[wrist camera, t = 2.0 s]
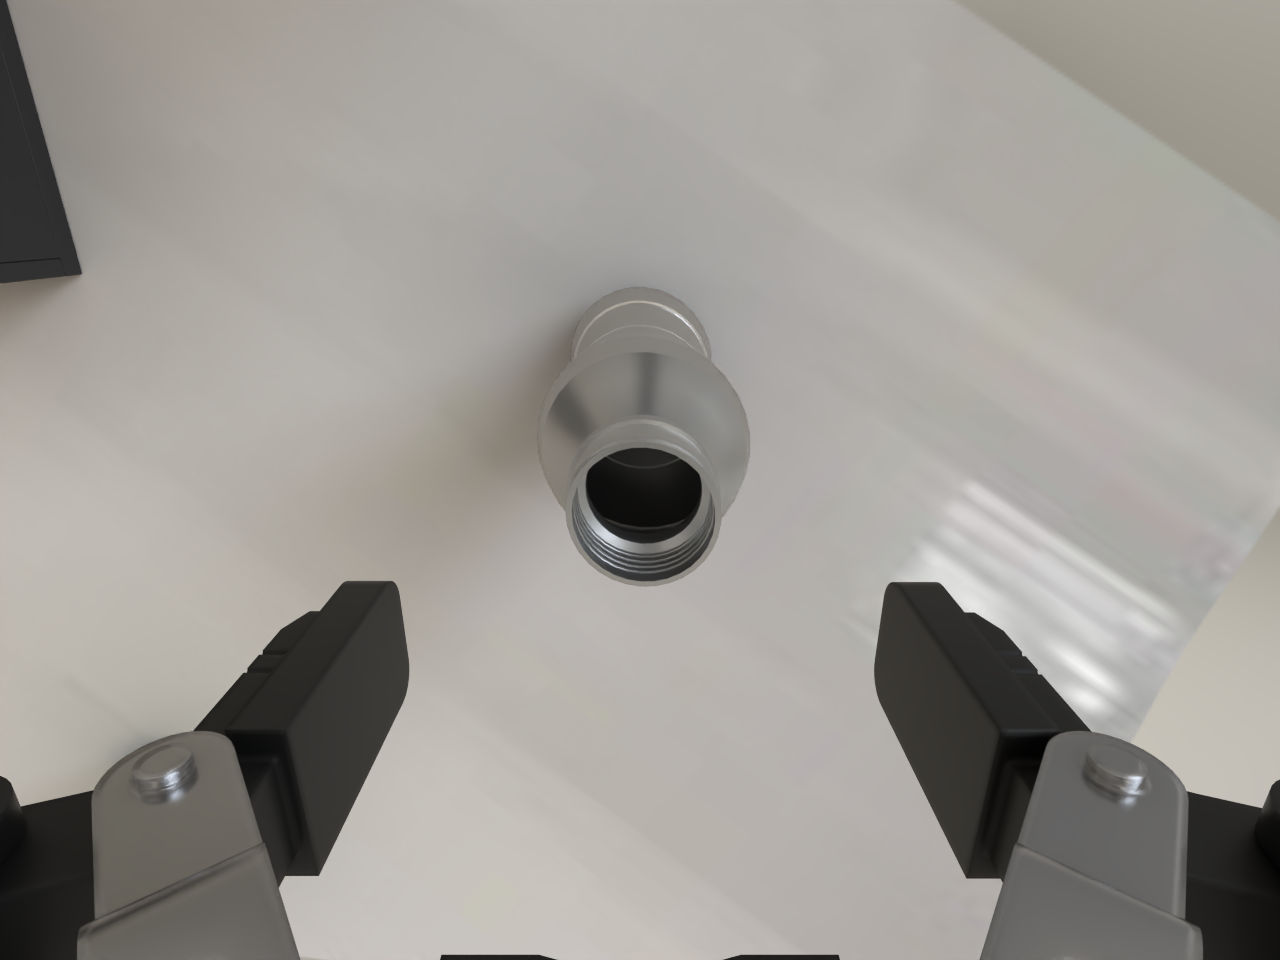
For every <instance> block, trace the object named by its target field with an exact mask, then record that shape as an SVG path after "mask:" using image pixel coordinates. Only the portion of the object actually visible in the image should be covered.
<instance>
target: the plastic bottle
mask: <svg viewBox="0 0 1280 960" xmlns="http://www.w3.org/2000/svg"><path fill="white" fill-rule="evenodd" d="M570 357H571V362H570V363H569V364H568V365H567V367H566V368H565V369H564V370H563V371H562V372H561V373H560V375H559V376H558V377H557V378H556V379H555V381H554V382H553V384H552V386H551V388H550V390H549V392H548V393H547V395H546V397H545V399H544V402H543V406H542V409H541V412H540V416H539V420H538V432H537V443H538V452H539V459H540V463H541V466H542V469H543V472H544V475H545V478H546V480H547V482H548V484H549V486H550V488H551V490H552V492H553V494H554V495H555V497H556V499H557V501H558V503H559V504H560V505H561V507H562V508H563V509H564V510H565V511H566V521H567V526H568V529H569V533H570V536H571V539H572V541H573V543H574V544H575V546H576V548H577V550H578V552H579V553H580V554H581V555H582V556H583V558H584V559H585V560H586V561H587V562H588V563H589V564H590V565H591V566H592V567H594V568H595V569H596V570H597V571H598V572H600V573H602V574H603V575H605V576H607V577H609V578H611V579H613V580H616V581H619V582H622V583H624V584H629V585H635V586H658V585H663V584H668V583H671V582H673V581H676V580H678V579H681V578H683V577H685V576H686V575H688V574H689V573H691V572H693V571H694V570H695V569H696V568H697V567H698V566H700V565H701V564H702V563H703V562H704V561H705V559H706V558H707V557H708V555H709V554H710V552H711V551H712V549H713V547H714V545H715V543H716V540H717V538H718V535H719V530H720V525H721V520H722V517H723V516H724V515H725V514H726V512H727V511H728V509H729V508H730V506H731V505H732V503H733V502H734V500H735V499H736V496H737V494H738V491H739V489H740V487H741V484H742V482H743V480H744V477H745V475H746V471H747V466H748V462H749V457H750V431H749V427H748V422H747V417H746V413H745V410H744V408H743V406H742V403H741V401H740V399H739V396H738V394H737V393H736V391H735V390H734V388H733V387H732V385H731V384H730V382H729V381H728V380H727V378H726V377H725V376H724V375H723V373H722V372H721V371H720V370H719V369H718V368H717V367H716V366H715V365H714V364H713V363H712V354H711V348H710V344H709V339H708V337H707V334H706V332H705V330H704V327H703V325H702V324H701V322H700V321H699V319H698V318H697V317H696V315H695V314H694V313H693V312H692V311H691V310H690V309H689V308H688V307H687V306H686V305H685V304H684V303H683V302H681V301H680V300H678V299H677V298H675V297H674V296H672V295H670V294H667V293H665V292H662V291H660V290H656V289H651V288H645V287H638V288H626V289H622V290H618V291H615V292H613V293H611V294H609V295H606V296H604V297H603V298H601V299H600V300H599V301H597V302H596V303H595V304H593V305H592V306H591V307H590V308H589V310H588V311H587V312H586V313H585V314H584V316H583V317H582V319H581V321H580V322H579V324H578V326H577V328H576V330H575V334H574V337H573V340H572V346H571V356H570Z"/></svg>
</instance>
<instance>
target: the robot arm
mask: <svg viewBox="0 0 1280 960" xmlns="http://www.w3.org/2000/svg"><path fill="white" fill-rule="evenodd" d="M874 677H875V686H876V691H877V695H878V698H879V701H880V704H881V706H882V708H883V710H884V712H885V714H886V716H887V718H888V720H889V722H890V724H891V726H892V728H893V730H894V732H895V734H896V736H897V738H898V740H899V742H900V744H901V746H902V748H903V750H904V753H905V755H906V757H907V759H908V761H909V763H910V765H911V767H912V769H913V771H914V773H915V775H916V777H917V779H918V781H919V783H920V785H921V787H922V789H923V791H924V793H925V795H926V797H927V799H928V801H929V803H930V805H931V807H932V809H933V811H934V813H935V816H936V818H937V820H938V822H939V824H940V826H941V828H942V830H943V832H944V834H945V836H946V838H947V840H948V842H949V844H950V846H951V848H952V850H953V852H954V854H955V856H956V858H957V860H958V862H959V864H960V866H961V868H962V870H963V872H964V874H965V876H966V878H1001V880H1002V882H1003V885H1002V888H1001V891H1000V894H999V898H998V901H997V904H996V908H995V911H994V914H993V917H992V921H991V924H990V927H989V931H988V934H987V937H986V940H985V944H984V947H983V950H982V954H981V957H980V960H1280V780H1278V781H1276V782H1275V783H1274V784H1273V785H1272V787H1271V789H1270V791H1269V794H1268V796H1267V799H1266V801H1265V804H1264V806H1263V808H1258V807H1254V806H1249V805H1245V804H1240V803H1235V802H1231V801H1227V800H1222V799H1218V798H1213V797H1209V796H1204V795H1200V794H1195V793H1192V792H1187V791H1186V789H1185V787H1184V785H1183V783H1182V782H1181V781H1180V779H1179V778H1178V777H1177V776H1176V774H1175V773H1174V772H1173V771H1172V770H1171V769H1170V768H1169V767H1167V766H1166V765H1165V764H1164V763H1163V762H1161V761H1160V760H1159V759H1157V758H1156V757H1154V756H1153V755H1151V754H1150V753H1148V752H1146V751H1145V750H1143V749H1141V748H1139V747H1137V746H1135V745H1133V744H1131V743H1128V742H1126V741H1124V740H1121V739H1118V738H1115V737H1112V736H1109V735H1105V734H1100V733H1096V732H1091V731H1090V729H1089V728H1088V727H1087V726H1086V725H1085V724H1084V723H1083V721H1082V720H1081V719H1080V718H1079V717H1078V716H1077V715H1076V713H1075V712H1074V711H1073V710H1072V709H1071V708H1070V707H1069V705H1068V704H1067V703H1066V702H1065V701H1064V700H1063V699H1062V697H1061V696H1060V695H1059V694H1058V693H1057V692H1056V690H1055V689H1054V688H1053V687H1052V686H1051V685H1050V684H1049V682H1048V681H1047V680H1046V679H1045V678H1044V677H1043V676H1042V675H1038V672H1037V669H1036V668H1035V666H1034V665H1033V664H1032V663H1031V662H1030V661H1029V660H1028V658H1027V657H1026V656H1022V652H1021V650H1020V649H1019V648H1018V647H1017V646H1016V645H1015V644H1014V642H1013V641H1012V640H1011V639H1010V638H1009V637H1008V636H1007V634H1006V633H1005V632H1004V631H1003V630H1001V629H1000V628H998V627H997V626H995V625H993V624H992V623H990V622H989V621H987V620H985V619H984V618H982V617H981V616H979V615H977V614H976V613H965V612H964V611H963V610H962V609H961V608H960V606H959V605H958V604H957V603H956V601H955V600H954V599H953V598H952V597H951V595H950V594H949V593H948V592H947V590H946V589H945V588H944V587H943V586H942V585H941V584H940V583H938V582H891V583H890V584H889V585H888V586H887V588H886V591H885V595H884V601H883V608H882V615H881V622H880V629H879V636H878V643H877V650H876V657H875V665H874ZM408 681H409V659H408V652H407V644H406V637H405V630H404V623H403V616H402V609H401V602H400V595H399V591H398V588H397V585H396V584H395V583H394V582H393V581H346V582H344V583H343V584H342V585H341V586H340V587H339V588H338V589H337V591H336V592H335V593H334V594H333V596H332V597H331V598H330V599H329V601H328V602H327V603H326V604H325V606H324V607H323V608H322V609H321V610H320V611H310V612H308V613H306V614H305V615H303V616H302V617H300V618H298V619H297V620H295V621H294V622H292V623H291V624H289V625H287V626H286V627H284V628H283V629H281V630H280V631H279V632H278V634H277V635H276V636H275V637H274V638H273V639H272V641H271V642H270V643H269V644H268V645H267V646H266V647H265V649H264V650H263V654H262V655H259V656H258V657H257V658H256V659H255V660H254V661H253V662H252V664H251V665H250V666H249V667H248V671H247V673H243V674H242V675H241V676H240V677H239V679H238V680H237V681H236V682H235V683H234V684H233V686H232V687H231V688H230V689H229V690H228V691H227V692H226V694H225V695H224V696H223V697H222V698H221V699H220V701H219V702H218V703H217V704H216V705H215V706H214V708H213V709H212V710H211V711H210V712H209V713H208V714H207V716H206V717H205V718H204V719H203V720H202V721H201V723H200V724H199V725H198V726H197V727H196V728H195V729H194V731H192V732H184V733H180V734H175V735H171V736H168V737H165V738H162V739H159V740H156V741H154V742H152V743H149V744H147V745H145V746H143V747H141V748H139V749H137V750H135V751H134V752H132V753H130V754H129V755H127V756H126V757H124V758H123V759H121V760H120V761H119V762H117V763H116V764H115V765H114V766H113V767H111V768H110V769H109V770H108V771H107V772H106V773H105V774H104V775H103V777H102V778H101V779H100V780H99V782H98V783H97V785H96V787H95V789H94V790H93V791H89V792H84V793H80V794H75V795H71V796H66V797H62V798H57V799H53V800H48V801H44V802H39V803H35V804H30V805H26V806H21V807H20V804H19V802H18V799H17V797H16V794H15V792H14V790H13V787H12V785H11V783H10V782H9V781H8V780H7V779H6V778H4V777H1V776H0V960H300V957H299V954H298V950H297V947H296V944H295V940H294V937H293V934H292V931H291V927H290V924H289V921H288V917H287V914H286V911H285V908H284V904H283V901H282V898H281V894H280V891H279V886H280V884H281V882H282V880H283V879H284V877H285V876H319V874H320V872H321V870H322V868H323V866H324V864H325V862H326V860H327V858H328V856H329V854H330V852H331V850H332V848H333V846H334V843H335V841H336V839H337V837H338V835H339V833H340V831H341V829H342V827H343V825H344V823H345V821H346V819H347V817H348V815H349V813H350V811H351V808H352V806H353V804H354V802H355V800H356V798H357V796H358V794H359V792H360V790H361V788H362V786H363V784H364V782H365V780H366V778H367V776H368V774H369V771H370V769H371V767H372V765H373V763H374V761H375V759H376V757H377V755H378V753H379V751H380V749H381V747H382V745H383V743H384V741H385V739H386V736H387V734H388V732H389V730H390V728H391V726H392V724H393V722H394V720H395V718H396V716H397V714H398V712H399V710H400V708H401V706H402V704H403V701H404V699H405V696H406V692H407V687H408ZM440 960H556V959H552V958H549V957H545V956H541V955H441V959H440ZM724 960H840V959H839V955H739V956H735V957H731V958H728V959H724Z"/></svg>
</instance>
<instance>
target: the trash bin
mask: <svg viewBox="0 0 1280 960" xmlns="http://www.w3.org/2000/svg"><path fill="white" fill-rule="evenodd" d="M80 274H81V269H80V266H79V262H78V259H77V255H76V251H75V248H74V244H73V241H72V237H71V233H70V230H69V226H68V223H67V219H66V215H65V212H64V208H63V205H62V201H61V198H60V194H59V190H58V187H57V183H56V180H55V176H54V172H53V169H52V165H51V162H50V158H49V154H48V151H47V147H46V144H45V140H44V137H43V133H42V129H41V126H40V122H39V119H38V115H37V111H36V108H35V104H34V101H33V97H32V93H31V90H30V86H29V83H28V79H27V75H26V72H25V68H24V65H23V61H22V58H21V54H20V50H19V47H18V43H17V40H16V36H15V32H14V29H13V25H12V22H11V18H10V14H9V11H8V7H7V4H6V0H0V283H9V282H18V281H27V280H36V279H45V278H53V277H62V276H72V275H80Z"/></svg>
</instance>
